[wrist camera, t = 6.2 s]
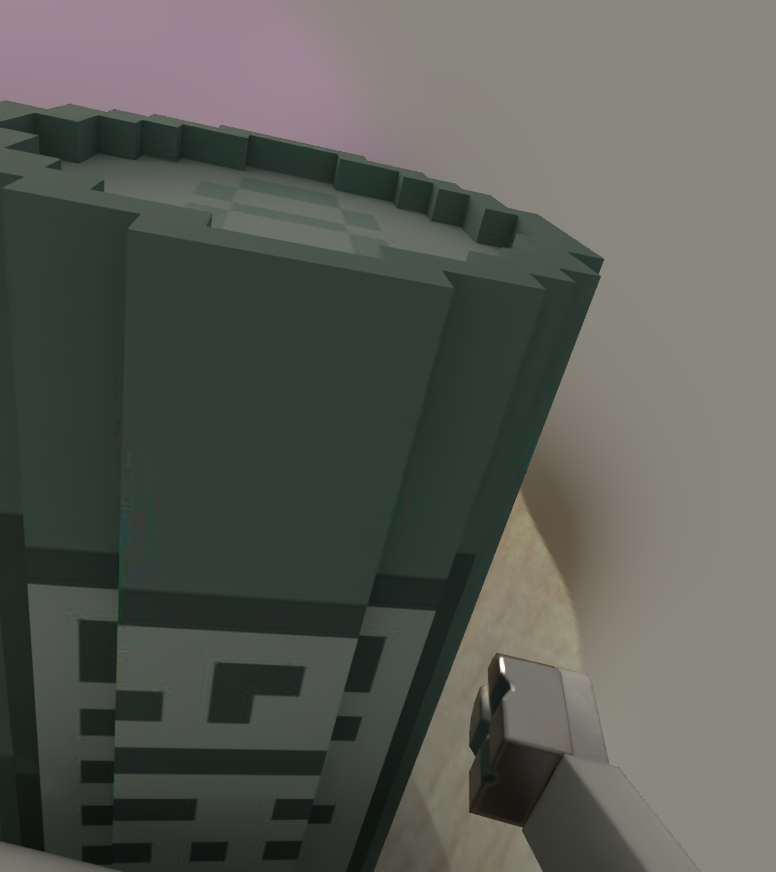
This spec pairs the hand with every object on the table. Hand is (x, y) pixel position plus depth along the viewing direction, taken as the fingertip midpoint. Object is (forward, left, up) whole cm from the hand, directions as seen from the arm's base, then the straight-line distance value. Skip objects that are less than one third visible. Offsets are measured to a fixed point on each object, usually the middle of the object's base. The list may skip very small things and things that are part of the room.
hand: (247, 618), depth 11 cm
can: (0, +1, -8) cm, 8 cm away
